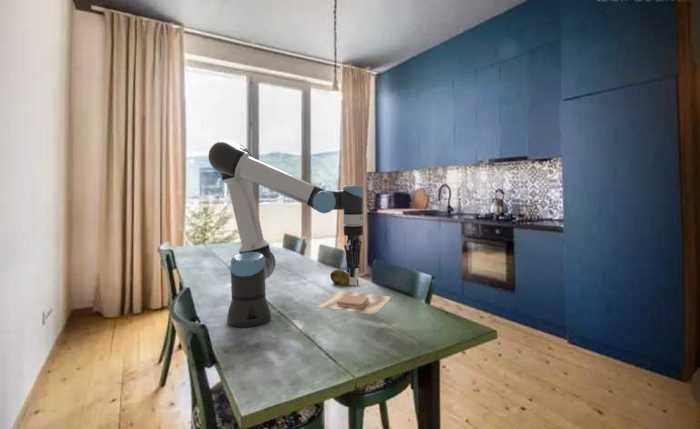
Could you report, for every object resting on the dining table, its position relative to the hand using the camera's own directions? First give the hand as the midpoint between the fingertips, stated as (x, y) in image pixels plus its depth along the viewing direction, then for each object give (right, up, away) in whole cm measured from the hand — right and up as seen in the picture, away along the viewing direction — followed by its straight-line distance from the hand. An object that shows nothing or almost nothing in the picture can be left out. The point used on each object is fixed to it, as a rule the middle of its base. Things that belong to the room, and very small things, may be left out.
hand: (353, 284), depth 141 cm
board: (+1, -9, +3) cm, 9 cm away
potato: (-4, -7, +28) cm, 29 cm away
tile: (+1, -6, +4) cm, 8 cm away
